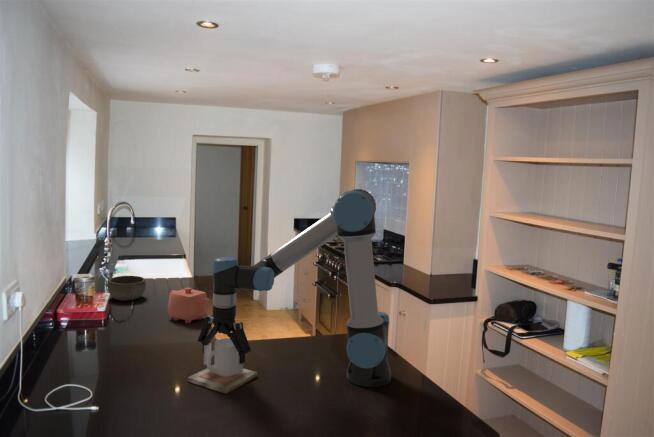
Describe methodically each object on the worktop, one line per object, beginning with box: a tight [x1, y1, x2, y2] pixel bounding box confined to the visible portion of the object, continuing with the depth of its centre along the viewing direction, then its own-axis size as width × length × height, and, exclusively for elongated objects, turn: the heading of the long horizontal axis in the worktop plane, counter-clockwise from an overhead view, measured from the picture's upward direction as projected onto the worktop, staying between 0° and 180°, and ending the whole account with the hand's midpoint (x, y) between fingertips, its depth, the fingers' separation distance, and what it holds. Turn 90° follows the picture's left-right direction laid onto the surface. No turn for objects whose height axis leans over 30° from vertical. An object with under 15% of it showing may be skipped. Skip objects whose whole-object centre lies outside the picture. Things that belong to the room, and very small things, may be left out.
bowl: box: [107, 275, 147, 302], centre depth 264 cm, size 17×18×10 cm
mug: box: [206, 337, 238, 377], centre depth 174 cm, size 12×8×10 cm
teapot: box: [167, 287, 210, 324], centre depth 235 cm, size 22×13×14 cm, turn 61°
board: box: [187, 364, 258, 394], centre depth 174 cm, size 16×16×2 cm
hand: (223, 368), depth 174 cm, fingers open, 13 cm apart
